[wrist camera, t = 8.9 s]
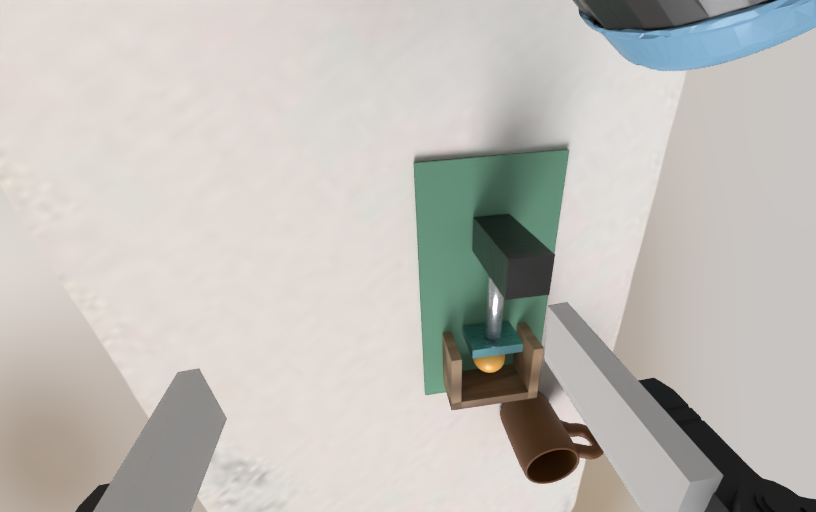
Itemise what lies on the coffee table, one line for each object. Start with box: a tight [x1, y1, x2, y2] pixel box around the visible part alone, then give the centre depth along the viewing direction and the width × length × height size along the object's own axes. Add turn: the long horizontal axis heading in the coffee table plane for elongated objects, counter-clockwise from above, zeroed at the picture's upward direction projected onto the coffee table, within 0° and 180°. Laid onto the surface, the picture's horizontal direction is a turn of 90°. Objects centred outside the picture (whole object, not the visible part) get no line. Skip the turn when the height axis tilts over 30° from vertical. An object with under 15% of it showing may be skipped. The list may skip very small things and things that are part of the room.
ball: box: [473, 354, 505, 373], centre depth 45 cm, size 4×4×4 cm
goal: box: [442, 322, 544, 410], centre depth 45 cm, size 8×11×5 cm
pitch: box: [414, 149, 569, 395], centre depth 43 cm, size 32×16×1 cm, turn 3°
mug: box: [500, 392, 604, 484], centre depth 50 cm, size 12×8×9 cm, turn 93°
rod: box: [462, 214, 555, 359], centre depth 37 cm, size 16×6×10 cm, turn 3°
